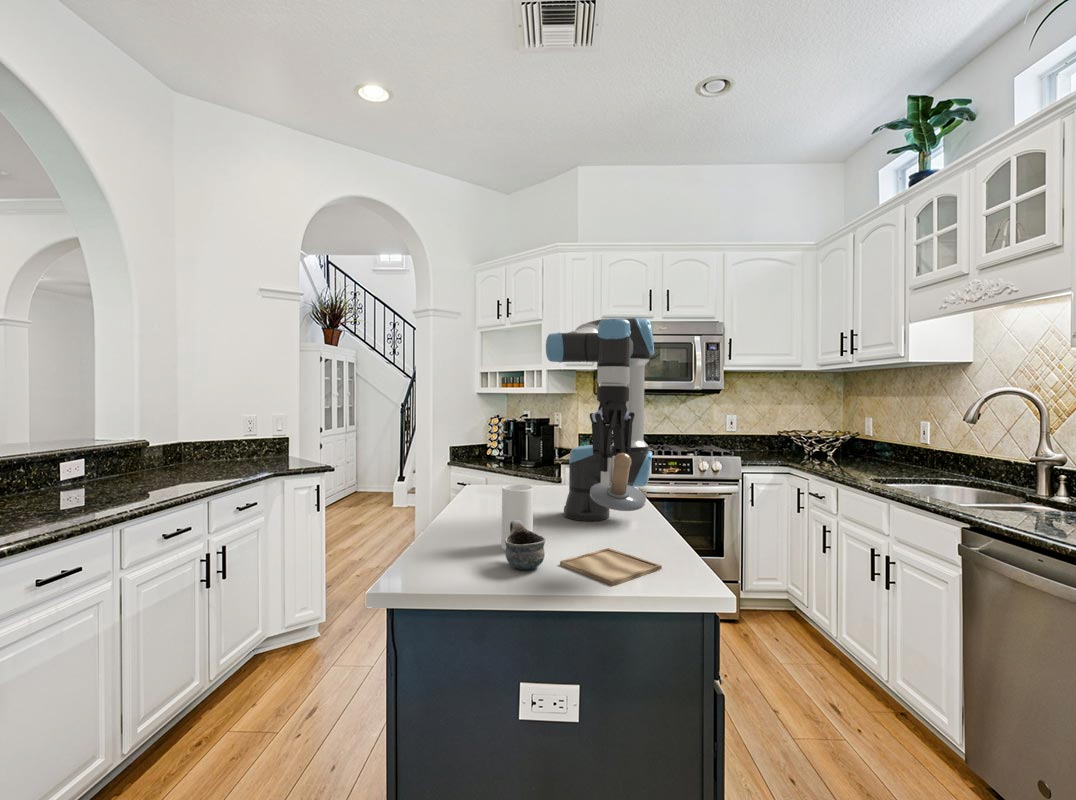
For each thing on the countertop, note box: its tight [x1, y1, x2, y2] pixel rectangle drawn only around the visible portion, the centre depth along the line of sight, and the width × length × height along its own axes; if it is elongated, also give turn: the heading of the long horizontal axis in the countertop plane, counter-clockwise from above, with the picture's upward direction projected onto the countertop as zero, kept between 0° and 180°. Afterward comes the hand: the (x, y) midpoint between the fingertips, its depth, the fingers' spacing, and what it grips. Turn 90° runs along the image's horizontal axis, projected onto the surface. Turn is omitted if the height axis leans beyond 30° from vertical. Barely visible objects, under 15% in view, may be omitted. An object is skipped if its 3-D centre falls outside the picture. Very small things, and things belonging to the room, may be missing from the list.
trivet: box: [559, 547, 663, 587], centre depth 129 cm, size 17×17×1 cm
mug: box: [504, 520, 547, 570], centre depth 129 cm, size 10×12×10 cm
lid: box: [590, 453, 647, 512], centre depth 125 cm, size 13×13×11 cm
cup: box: [501, 484, 534, 551], centre depth 143 cm, size 8×8×16 cm
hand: (611, 484), depth 128 cm, fingers closed on lid, 3 cm apart
